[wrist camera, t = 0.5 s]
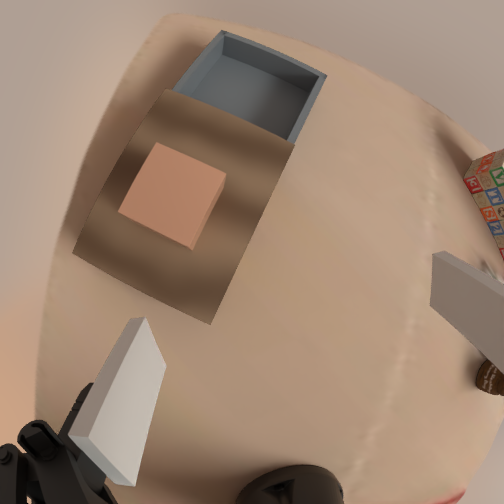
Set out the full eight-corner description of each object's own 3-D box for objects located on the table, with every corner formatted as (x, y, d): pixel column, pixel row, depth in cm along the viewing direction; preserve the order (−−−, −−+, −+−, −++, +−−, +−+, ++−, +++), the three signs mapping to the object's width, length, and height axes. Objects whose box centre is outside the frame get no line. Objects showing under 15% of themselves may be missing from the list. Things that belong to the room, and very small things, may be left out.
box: (280, 164, 32) (291, 149, 28) (172, 115, 31) (168, 94, 26) (315, 94, 33) (327, 75, 29) (219, 51, 32) (221, 29, 27)
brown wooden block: (209, 314, 30) (210, 324, 24) (95, 256, 28) (72, 253, 23) (280, 165, 32) (295, 144, 26) (171, 116, 31) (165, 88, 25)
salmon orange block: (192, 250, 24) (189, 247, 20) (130, 220, 24) (117, 211, 20) (223, 188, 25) (226, 173, 21) (163, 160, 24) (156, 142, 20)
